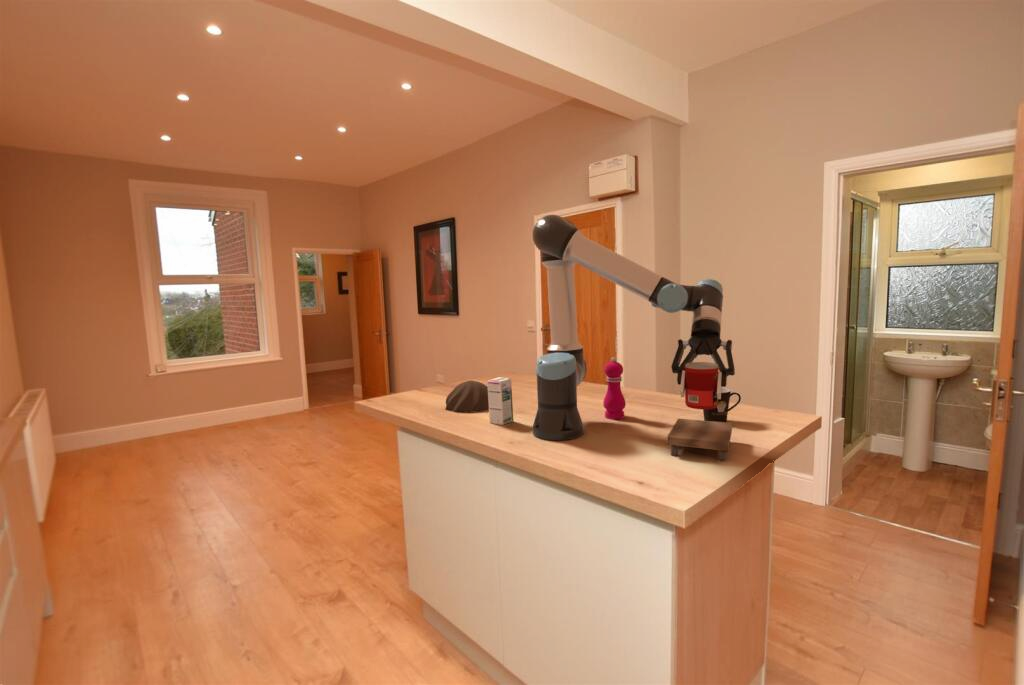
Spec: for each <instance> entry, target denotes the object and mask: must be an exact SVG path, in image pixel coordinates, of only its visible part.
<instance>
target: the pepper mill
mask: <svg viewBox="0 0 1024 685" xmlns="http://www.w3.org/2000/svg"><path fill="white" fill-rule="evenodd" d="M604 373H605V375H606V377H605V378H606V380H605V381H607V390H606V394H605V396H604V399H603V401H602V402H603V404H602V405H603V408H604V409H605V411H604V417H605V418H607V419H609V420H610V419H611V420H623V418H625V411H624V409H625V408H626V406H627V404H626V399H625V396H624V394H623V392H622V388H621V382H622V381H623V380H622V375H623V373H624V367H623V365H622V363H620V362H618V361H617V358H616V357H614V356H613V357H611V358H610V361H609V362H607V363H606V365H605V366H604Z"/></svg>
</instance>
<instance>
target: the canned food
mask: <svg viewBox="0 0 1024 685" xmlns="http://www.w3.org/2000/svg"><path fill="white" fill-rule="evenodd" d="M718 372H719V369H718V364H716V363H715V362H707V361H705V362H704V361H693V362H692V363H687V364H685V393H684V398H685V399H684V404H685V405H686V407H687V408H690V409H694V410H703V409H714V408H716V407H717V406H718V399H717V384H718Z"/></svg>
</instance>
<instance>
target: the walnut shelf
mask: <svg viewBox="0 0 1024 685" xmlns="http://www.w3.org/2000/svg"><path fill="white" fill-rule="evenodd" d="M672 426H673V427H672V428H671V430H670V432H669V434H668V435H667V441H666V443H667V445H670V456H673V457H678V456H679V447H686V448H687V447H688V448H698V449H707V450H713V451H714V450H715V451H717V461H718V462H721V461H724V462H726V461H727V452H729V450H730V449H729V448H730V444H731V439H732V437H731V436H732V432H733V422H714V421H704V420H699V419H687V418H677V420H676V422H675V423H674V425H672Z"/></svg>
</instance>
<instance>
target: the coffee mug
mask: <svg viewBox="0 0 1024 685" xmlns="http://www.w3.org/2000/svg"><path fill="white" fill-rule="evenodd" d="M733 395H736V396H737V397H738V400H737V401H736V403H734V404H733V405H732V406H731V407H729V406H730V401H731V400H730V399H731V396H733ZM741 399H742V397H741V395H740V393H738V392H734V391H733V392H732V389H730V388H727V387H721V399H718V406H717V407H716V408H714V409H702V413H703V421H714V422H726V423H728V422H727V421H728V412H730V411H731V410H733V409H734V408H736V407H737V406H738V405H739V404H740V402H741Z"/></svg>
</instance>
